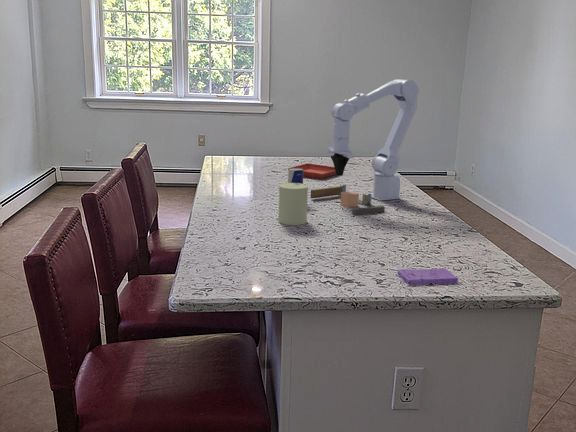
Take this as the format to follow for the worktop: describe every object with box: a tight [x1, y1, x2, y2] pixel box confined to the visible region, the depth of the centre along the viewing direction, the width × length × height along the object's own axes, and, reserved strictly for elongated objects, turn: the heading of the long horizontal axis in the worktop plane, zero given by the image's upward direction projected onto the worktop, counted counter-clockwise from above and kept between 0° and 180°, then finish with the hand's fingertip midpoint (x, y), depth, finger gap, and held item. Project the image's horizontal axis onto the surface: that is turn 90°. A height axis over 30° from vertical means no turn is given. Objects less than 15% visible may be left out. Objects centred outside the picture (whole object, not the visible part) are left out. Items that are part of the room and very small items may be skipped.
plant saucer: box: [287, 162, 337, 180], centre depth 269 cm, size 18×18×3 cm
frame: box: [338, 184, 373, 207], centre depth 222 cm, size 4×19×4 cm, turn 27°
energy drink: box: [287, 167, 304, 184], centre depth 216 cm, size 5×5×12 cm
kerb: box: [352, 205, 386, 216], centre depth 204 cm, size 12×2×2 cm, turn 117°
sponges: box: [397, 268, 459, 285], centre depth 144 cm, size 7×13×2 cm, turn 100°
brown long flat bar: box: [310, 185, 340, 199], centre depth 224 cm, size 1×13×3 cm, turn 125°
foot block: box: [340, 190, 360, 208], centre depth 214 cm, size 4×4×4 cm
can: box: [277, 182, 309, 226], centre depth 190 cm, size 9×9×12 cm
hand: (339, 175), depth 219 cm, fingers closed
